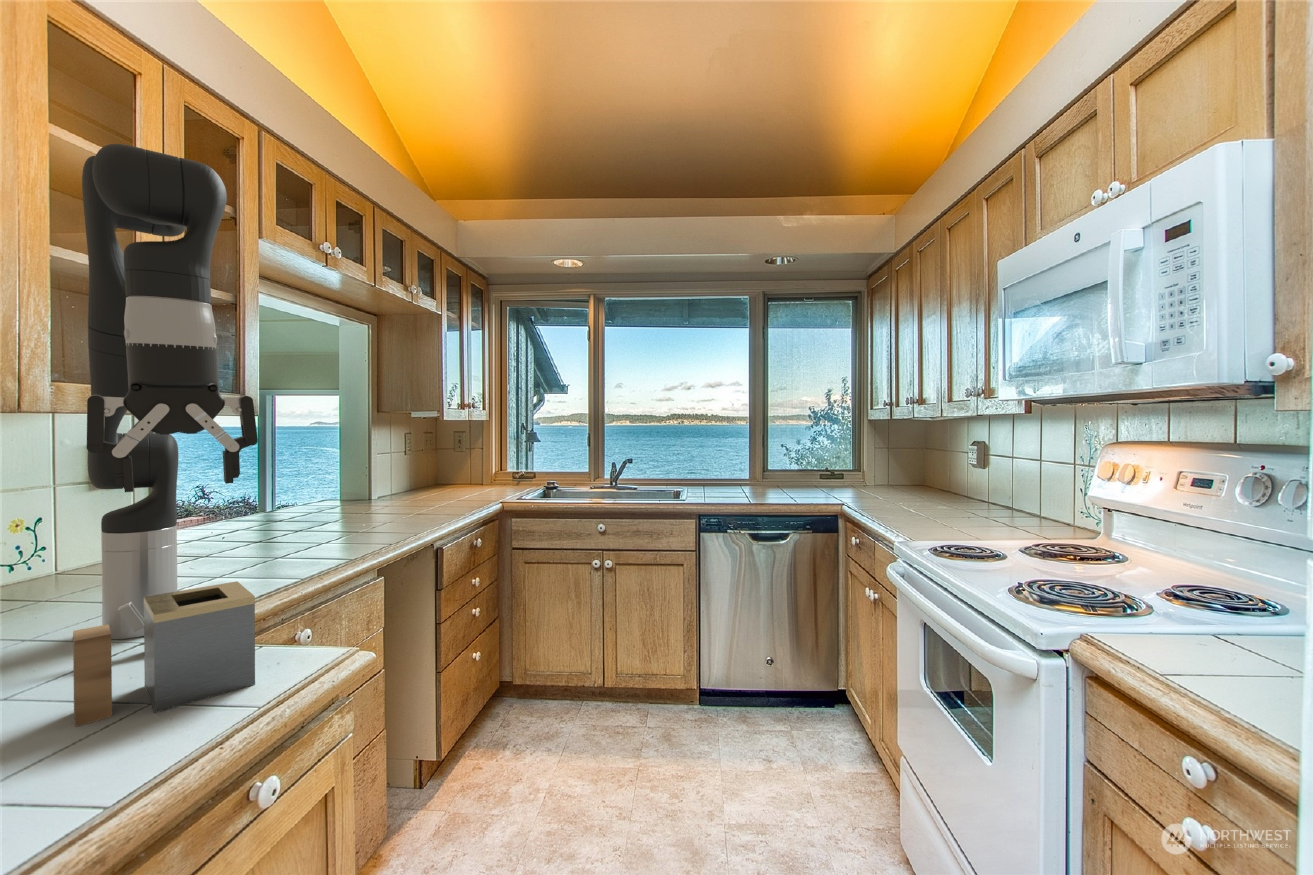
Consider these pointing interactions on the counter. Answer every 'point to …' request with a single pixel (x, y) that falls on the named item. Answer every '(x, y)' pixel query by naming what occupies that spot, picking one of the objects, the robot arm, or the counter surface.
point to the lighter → (131, 616)
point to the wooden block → (92, 674)
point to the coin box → (198, 644)
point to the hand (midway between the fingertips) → (181, 486)
